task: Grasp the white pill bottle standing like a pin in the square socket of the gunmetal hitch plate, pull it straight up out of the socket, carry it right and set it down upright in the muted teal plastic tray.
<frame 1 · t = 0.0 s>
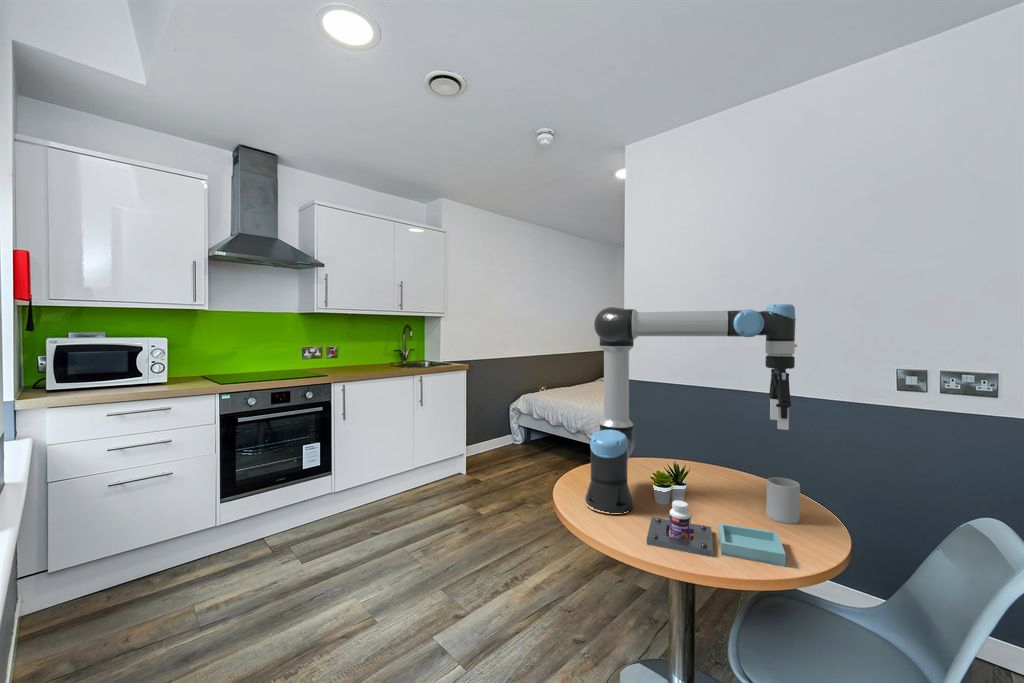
hand: (778, 424, 130), 28 cm above the table, fingers open, 13 cm apart
pill bottle: (679, 538, 117), resting in hitch plate
hitch plate: (679, 537, 117), on the table
tray: (749, 548, 111), on the table
mug: (780, 515, 130), on the table
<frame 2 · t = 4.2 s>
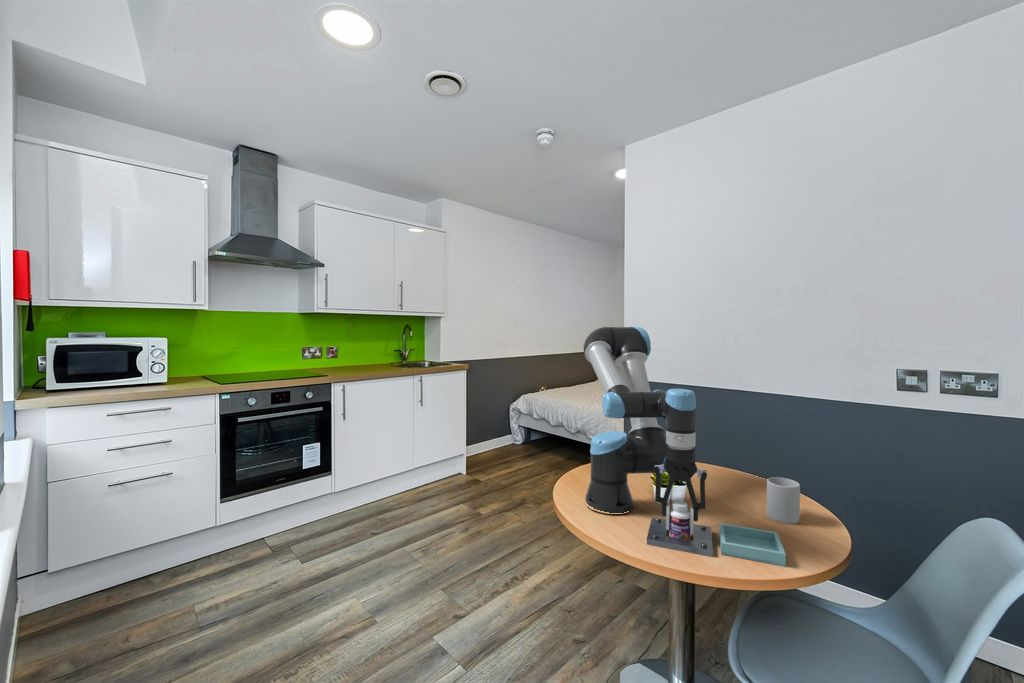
hand: (679, 529, 116), 2 cm above the table, fingers closed on pill bottle, 5 cm apart
pill bottle: (679, 538, 117), resting in hitch plate, touching gripper
everything else where it was.
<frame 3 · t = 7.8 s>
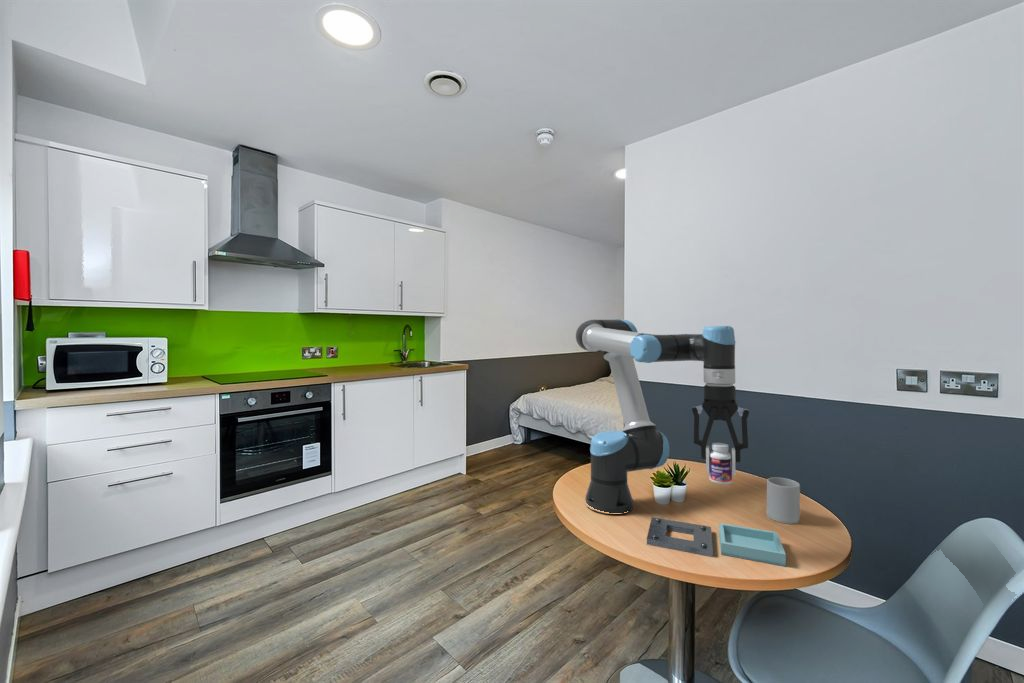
hand: (720, 472, 112), 20 cm above the table, fingers closed on pill bottle, 5 cm apart
pill bottle: (720, 482, 111), point 17 cm above the table, touching gripper
everything else where it was.
when the fingers open (5 cm above the table, at t = 11.2 s): pill bottle drops 2 cm, resting on tray.
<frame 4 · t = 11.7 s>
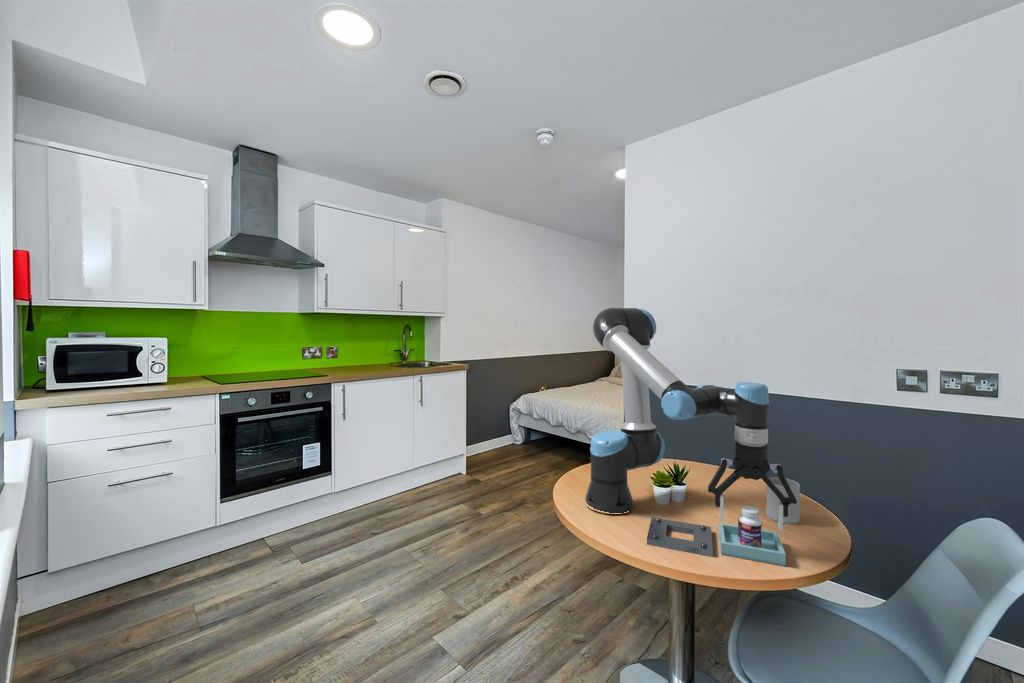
hand: (750, 523, 110), 7 cm above the table, fingers open, 13 cm apart
pill bottle: (749, 546, 111), point 1 cm above the table, touching tray
everything else where it was.
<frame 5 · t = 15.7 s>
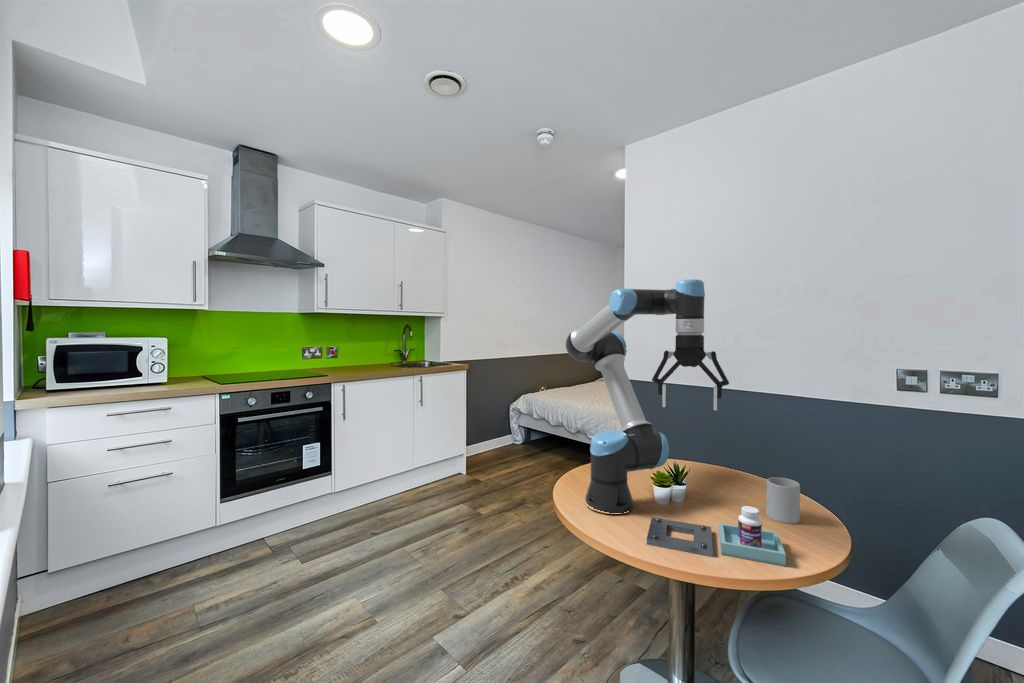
hand: (689, 408, 122), 35 cm above the table, fingers open, 13 cm apart
nothing on the table moved.
at the end: pill bottle inside the target area on the tray (0.0 cm from its centre), point 0.6 cm above the tray's base; pill bottle tilted 0°; pill bottle touching tray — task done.
